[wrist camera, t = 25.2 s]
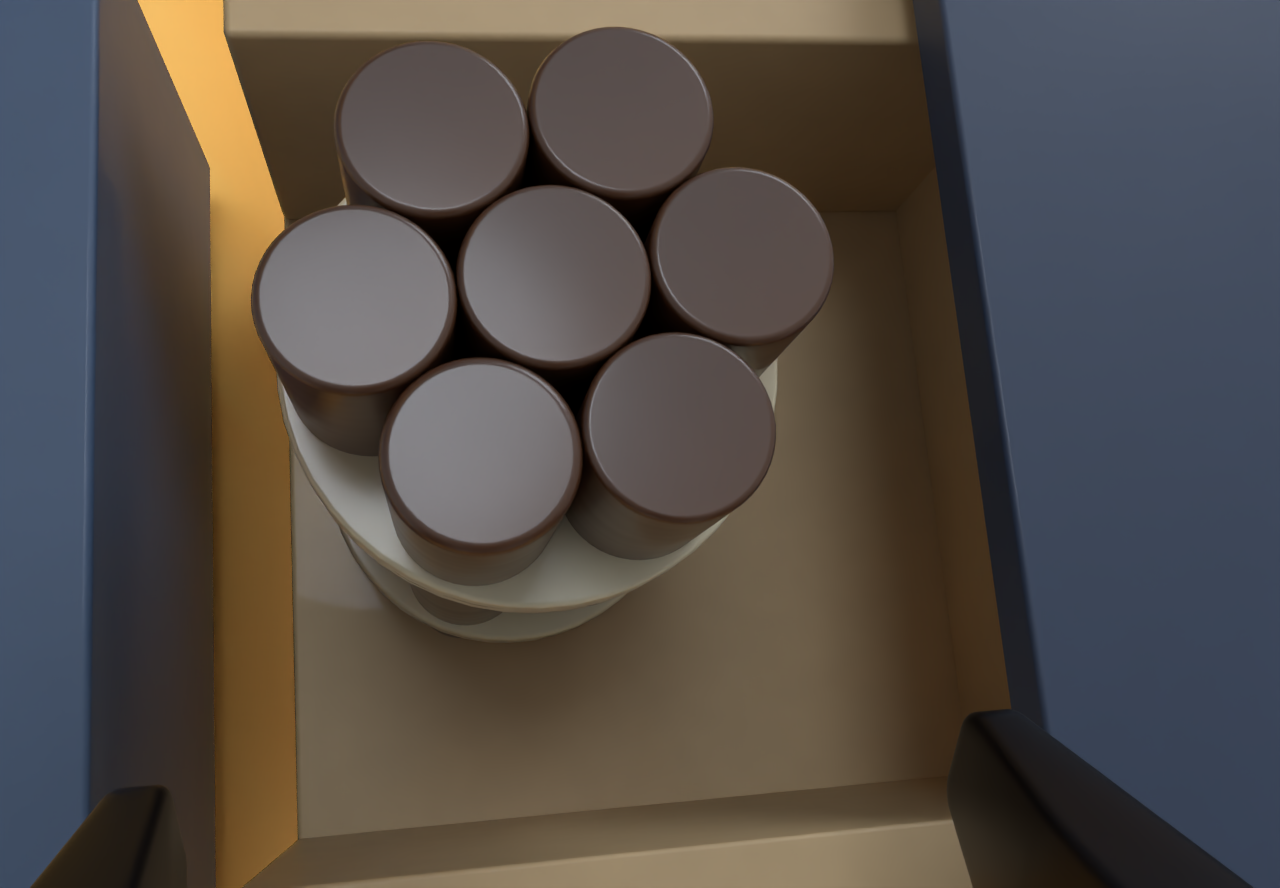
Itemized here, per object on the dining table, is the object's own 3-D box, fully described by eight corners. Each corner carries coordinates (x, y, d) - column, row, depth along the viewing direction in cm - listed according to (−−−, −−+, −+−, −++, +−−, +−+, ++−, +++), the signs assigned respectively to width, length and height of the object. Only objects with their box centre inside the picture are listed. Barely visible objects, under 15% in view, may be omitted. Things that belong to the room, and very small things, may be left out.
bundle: (708, 522, 19) (970, 330, 10) (475, 716, 18) (508, 719, 8) (522, 296, 20) (596, -105, 10) (281, 473, 18) (99, 210, 9)
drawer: (-233, 994, 17) (-663, 1172, 10) (-181, 167, 19) (-501, -111, 13) (997, 859, 20) (1267, 931, 13) (903, 160, 23) (1091, -69, 16)
